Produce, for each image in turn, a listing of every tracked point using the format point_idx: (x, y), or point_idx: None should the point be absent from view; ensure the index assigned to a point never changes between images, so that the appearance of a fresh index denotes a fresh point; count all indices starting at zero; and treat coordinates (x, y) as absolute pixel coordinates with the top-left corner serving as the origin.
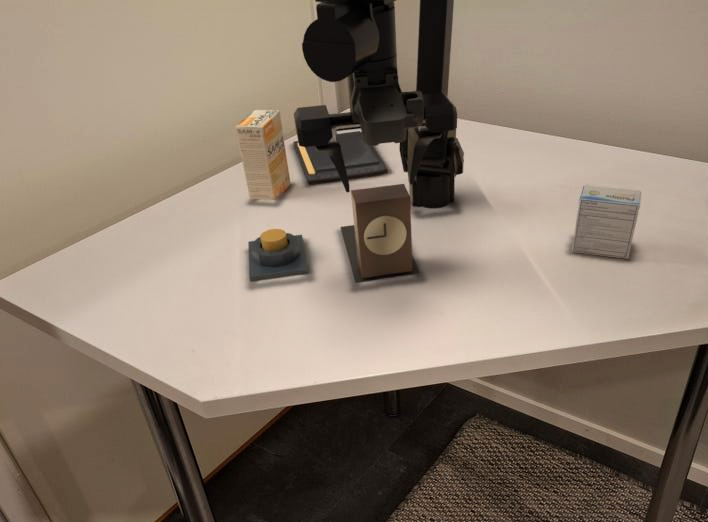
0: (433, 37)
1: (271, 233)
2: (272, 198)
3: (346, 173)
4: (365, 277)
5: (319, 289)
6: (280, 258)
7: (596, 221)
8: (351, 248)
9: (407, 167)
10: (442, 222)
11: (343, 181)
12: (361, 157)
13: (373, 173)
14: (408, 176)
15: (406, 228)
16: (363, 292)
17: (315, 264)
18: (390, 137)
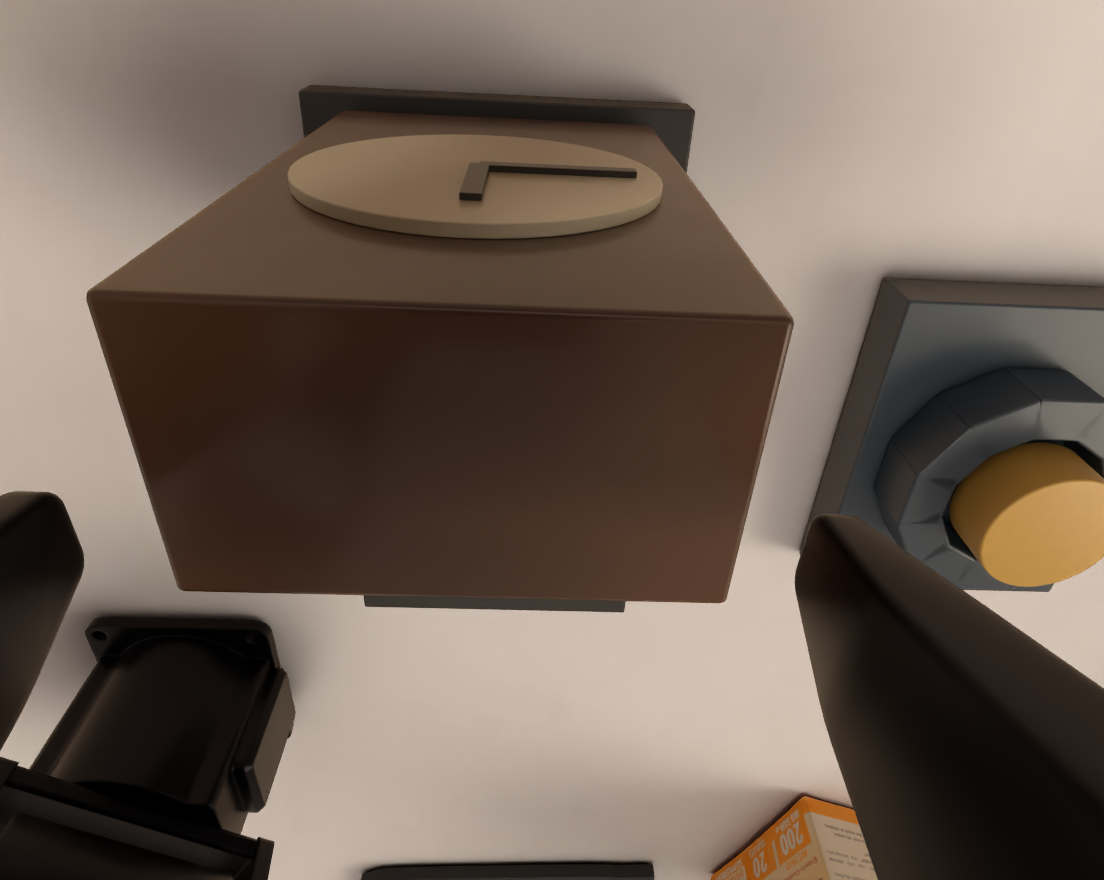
0: None
1: (1052, 551)
2: (816, 819)
3: (987, 697)
4: (632, 125)
5: (872, 165)
6: (1041, 386)
7: None
8: None
9: (6, 727)
10: (163, 559)
11: (970, 604)
12: None
13: (415, 875)
14: (44, 604)
15: (281, 183)
16: (657, 52)
17: (806, 394)
18: None
